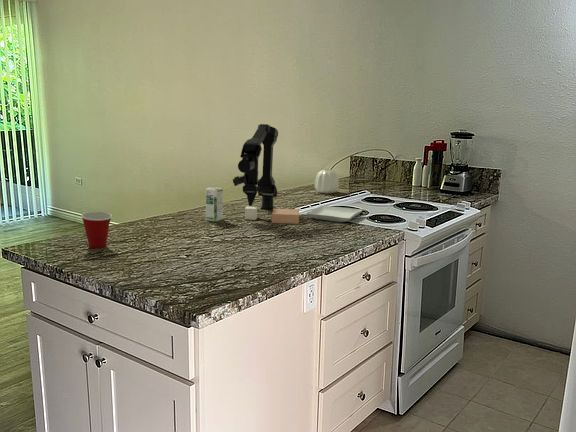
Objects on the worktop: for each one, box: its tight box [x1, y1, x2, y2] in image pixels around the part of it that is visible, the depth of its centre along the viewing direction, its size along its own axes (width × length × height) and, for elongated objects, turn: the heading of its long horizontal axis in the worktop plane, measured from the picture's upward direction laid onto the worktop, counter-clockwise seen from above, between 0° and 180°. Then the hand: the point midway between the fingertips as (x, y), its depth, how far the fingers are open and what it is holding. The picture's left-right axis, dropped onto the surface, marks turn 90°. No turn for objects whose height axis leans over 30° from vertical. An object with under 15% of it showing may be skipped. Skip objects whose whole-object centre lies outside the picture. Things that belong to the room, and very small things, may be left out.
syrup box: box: [205, 186, 224, 222], centre depth 256 cm, size 6×6×14 cm
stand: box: [271, 208, 300, 225], centre depth 260 cm, size 12×12×4 cm
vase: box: [314, 168, 340, 195], centre depth 333 cm, size 14×14×13 cm
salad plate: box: [306, 205, 363, 223], centre depth 269 cm, size 21×21×3 cm
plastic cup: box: [80, 211, 113, 249], centre depth 209 cm, size 11×11×12 cm
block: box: [244, 206, 258, 221], centre depth 262 cm, size 5×5×5 cm
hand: (251, 203), depth 261 cm, fingers open, 9 cm apart
